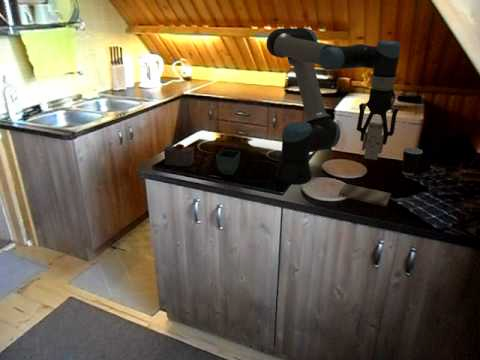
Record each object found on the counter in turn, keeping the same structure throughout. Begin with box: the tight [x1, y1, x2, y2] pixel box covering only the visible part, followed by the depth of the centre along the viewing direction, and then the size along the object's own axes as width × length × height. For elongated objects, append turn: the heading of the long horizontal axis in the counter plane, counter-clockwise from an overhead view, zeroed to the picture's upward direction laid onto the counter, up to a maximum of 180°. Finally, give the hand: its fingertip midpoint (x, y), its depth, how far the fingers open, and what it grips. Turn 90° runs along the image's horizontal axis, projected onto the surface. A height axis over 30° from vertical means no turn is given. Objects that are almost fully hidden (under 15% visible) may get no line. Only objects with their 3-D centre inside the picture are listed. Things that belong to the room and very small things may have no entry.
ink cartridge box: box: [363, 119, 383, 161], centre depth 141 cm, size 9×5×15 cm, turn 161°
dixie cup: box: [401, 146, 423, 176], centre depth 170 cm, size 8×8×11 cm
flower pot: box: [215, 149, 241, 176], centre depth 169 cm, size 9×9×9 cm
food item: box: [163, 143, 195, 168], centre depth 177 cm, size 14×8×10 cm, turn 83°
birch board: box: [338, 183, 392, 207], centre depth 151 cm, size 18×10×1 cm, turn 61°
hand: (371, 150), depth 143 cm, fingers closed on ink cartridge box, 5 cm apart
